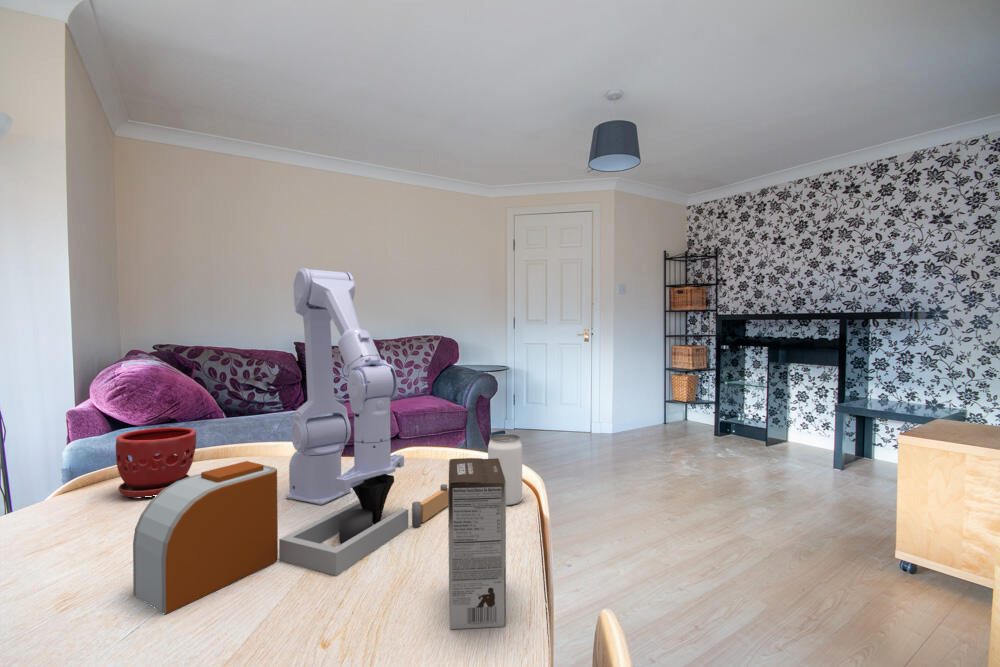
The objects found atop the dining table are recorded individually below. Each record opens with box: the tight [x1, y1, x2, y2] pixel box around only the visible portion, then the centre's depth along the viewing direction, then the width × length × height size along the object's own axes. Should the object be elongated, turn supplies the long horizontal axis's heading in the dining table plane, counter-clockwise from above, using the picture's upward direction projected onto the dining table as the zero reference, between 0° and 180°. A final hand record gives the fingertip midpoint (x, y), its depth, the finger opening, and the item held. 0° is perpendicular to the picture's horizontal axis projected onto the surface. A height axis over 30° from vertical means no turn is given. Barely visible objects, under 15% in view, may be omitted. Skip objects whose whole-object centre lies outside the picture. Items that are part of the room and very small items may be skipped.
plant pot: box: [115, 426, 197, 498], centre depth 93 cm, size 13×13×12 cm
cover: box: [411, 484, 449, 528], centre depth 80 cm, size 10×1×4 cm, turn 156°
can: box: [487, 433, 523, 507], centre depth 87 cm, size 6×6×12 cm
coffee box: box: [448, 457, 507, 630], centre depth 54 cm, size 9×6×16 cm
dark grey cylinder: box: [338, 509, 373, 544], centre depth 72 cm, size 5×5×4 cm
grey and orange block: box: [132, 460, 279, 615], centre depth 61 cm, size 15×8×14 cm, turn 150°
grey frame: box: [278, 499, 409, 576], centre depth 71 cm, size 10×18×3 cm, turn 156°
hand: (373, 522), depth 75 cm, fingers closed
